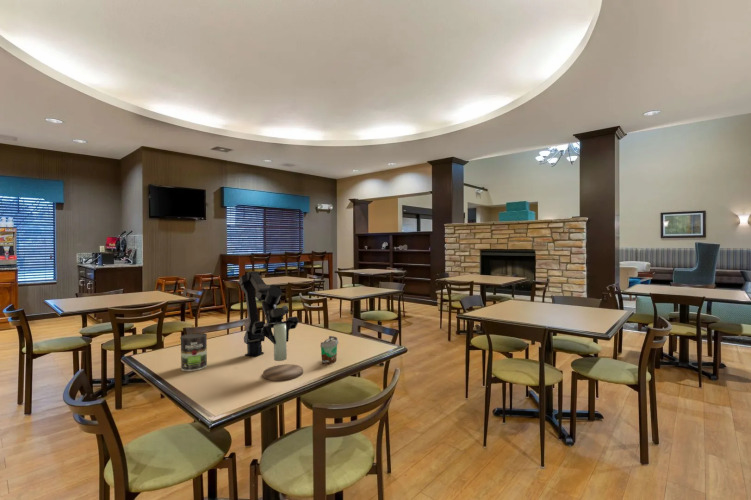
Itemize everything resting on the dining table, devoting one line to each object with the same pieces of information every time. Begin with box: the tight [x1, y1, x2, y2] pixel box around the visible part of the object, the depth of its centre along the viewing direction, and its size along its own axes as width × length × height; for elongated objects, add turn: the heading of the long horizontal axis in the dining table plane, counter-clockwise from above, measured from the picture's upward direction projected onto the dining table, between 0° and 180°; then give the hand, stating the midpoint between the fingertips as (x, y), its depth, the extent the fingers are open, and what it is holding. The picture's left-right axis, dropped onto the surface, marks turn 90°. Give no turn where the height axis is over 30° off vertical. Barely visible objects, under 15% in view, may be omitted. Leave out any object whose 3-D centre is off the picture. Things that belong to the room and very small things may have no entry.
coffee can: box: [180, 332, 208, 372], centre depth 157 cm, size 10×10×14 cm
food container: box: [320, 335, 340, 365], centre depth 163 cm, size 12×6×10 cm, turn 168°
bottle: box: [273, 324, 288, 362], centre depth 147 cm, size 5×5×14 cm
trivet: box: [262, 363, 304, 382], centre depth 148 cm, size 16×16×1 cm
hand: (281, 342), depth 146 cm, fingers closed on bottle, 5 cm apart
